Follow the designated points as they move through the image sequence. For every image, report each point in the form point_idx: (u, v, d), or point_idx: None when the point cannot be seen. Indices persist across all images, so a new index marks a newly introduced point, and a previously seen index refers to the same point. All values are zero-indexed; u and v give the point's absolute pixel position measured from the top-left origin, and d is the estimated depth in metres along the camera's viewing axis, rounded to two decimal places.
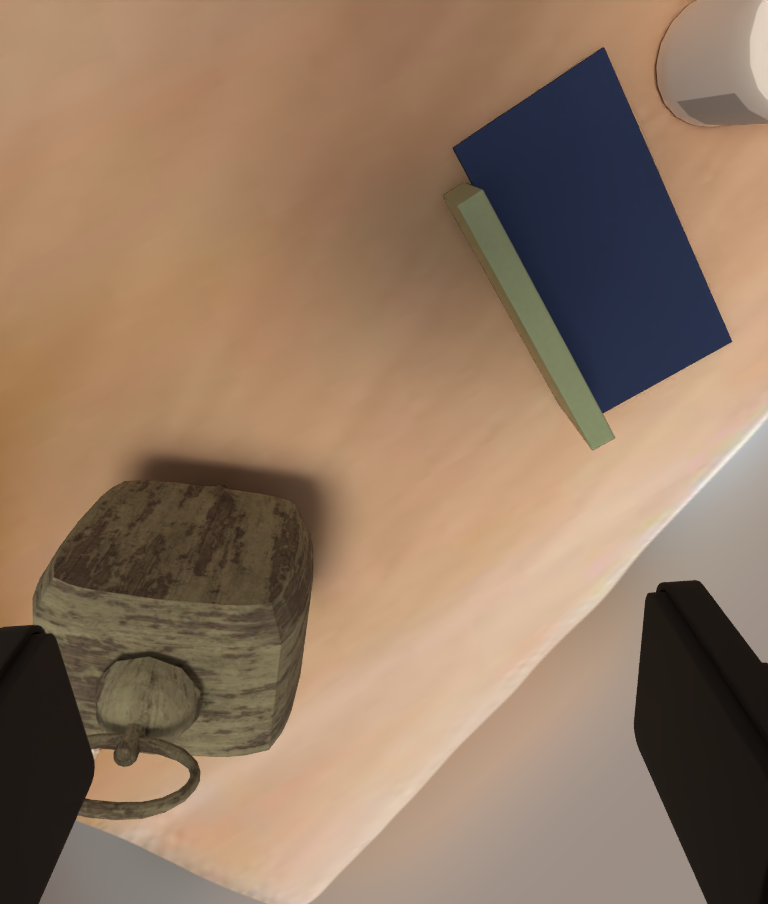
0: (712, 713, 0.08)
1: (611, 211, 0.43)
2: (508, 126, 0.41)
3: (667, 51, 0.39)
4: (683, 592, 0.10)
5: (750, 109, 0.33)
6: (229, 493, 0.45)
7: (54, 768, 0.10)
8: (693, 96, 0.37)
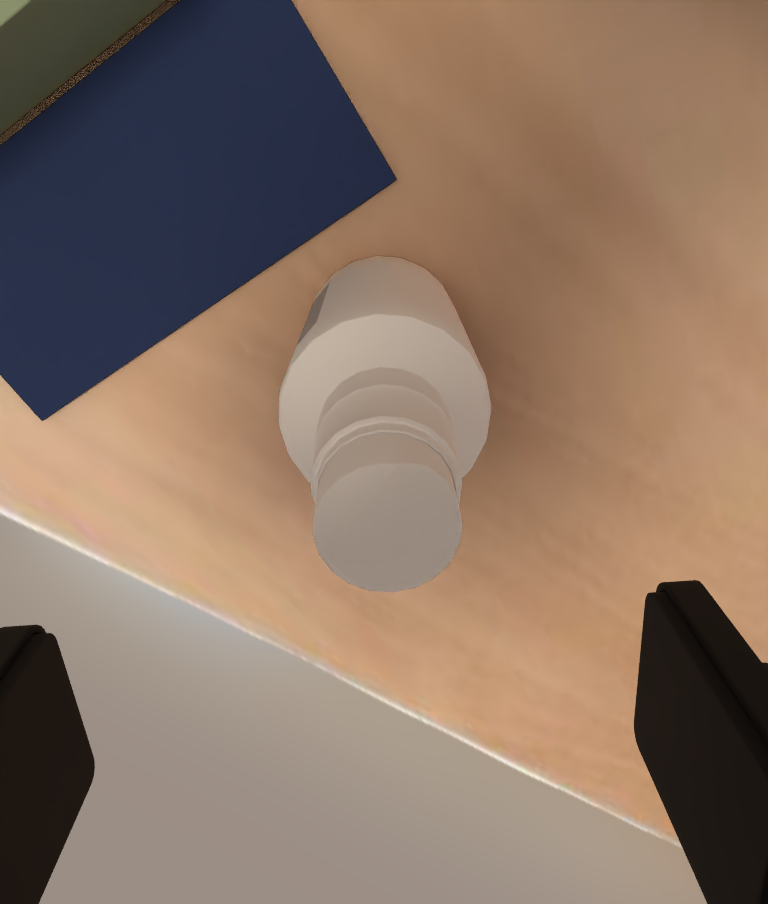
0: (712, 713, 0.08)
1: (190, 220, 0.30)
2: (291, 39, 0.27)
3: (389, 261, 0.29)
4: (683, 592, 0.10)
5: (296, 347, 0.23)
6: None
7: (54, 768, 0.10)
8: (328, 291, 0.27)
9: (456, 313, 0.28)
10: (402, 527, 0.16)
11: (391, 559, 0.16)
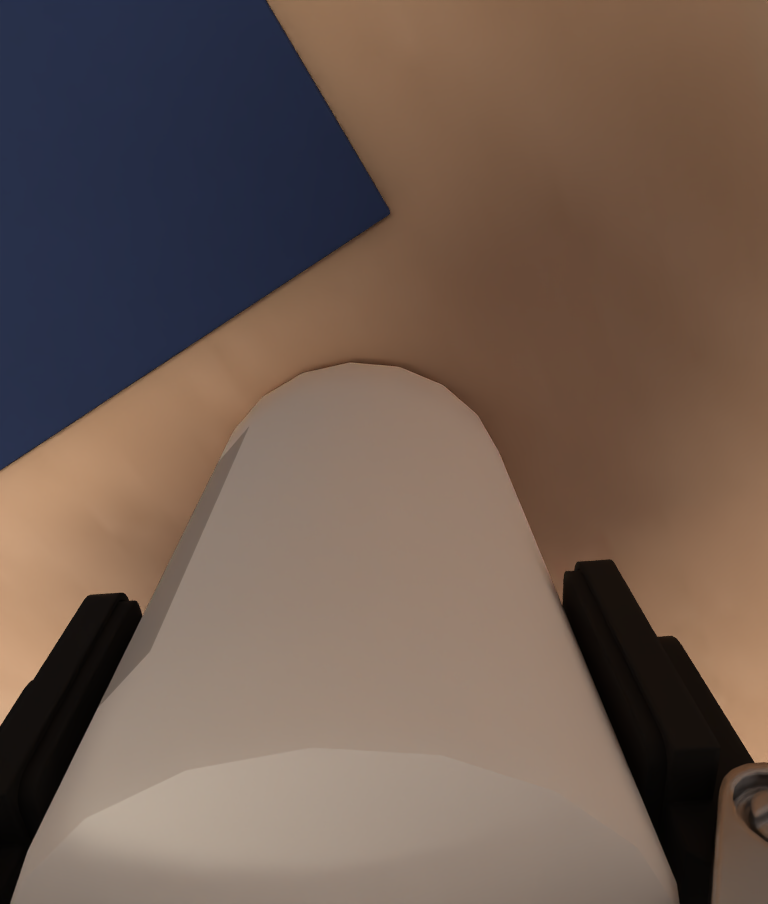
0: (607, 678, 0.09)
1: None
2: None
3: (373, 383, 0.14)
4: (595, 570, 0.11)
5: (92, 720, 0.08)
6: None
7: None
8: (233, 472, 0.12)
9: (517, 504, 0.13)
10: None
11: None
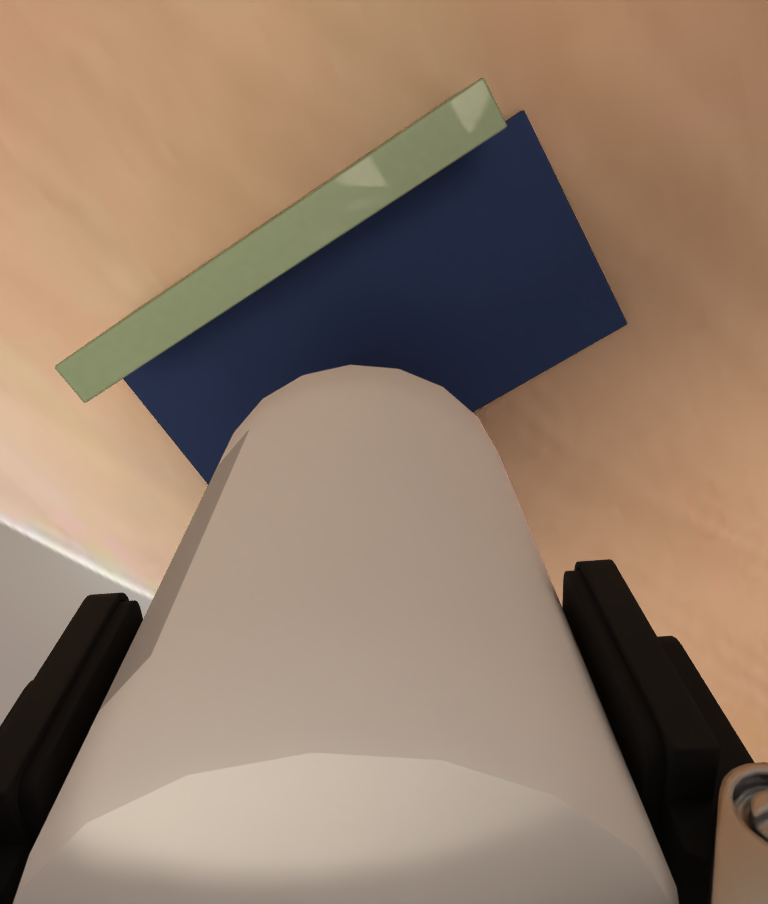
0: (607, 678, 0.09)
1: (423, 358, 0.31)
2: (545, 198, 0.28)
3: (374, 386, 0.14)
4: (595, 569, 0.11)
5: (93, 723, 0.08)
6: None
7: None
8: (234, 475, 0.12)
9: (517, 507, 0.13)
10: None
11: None
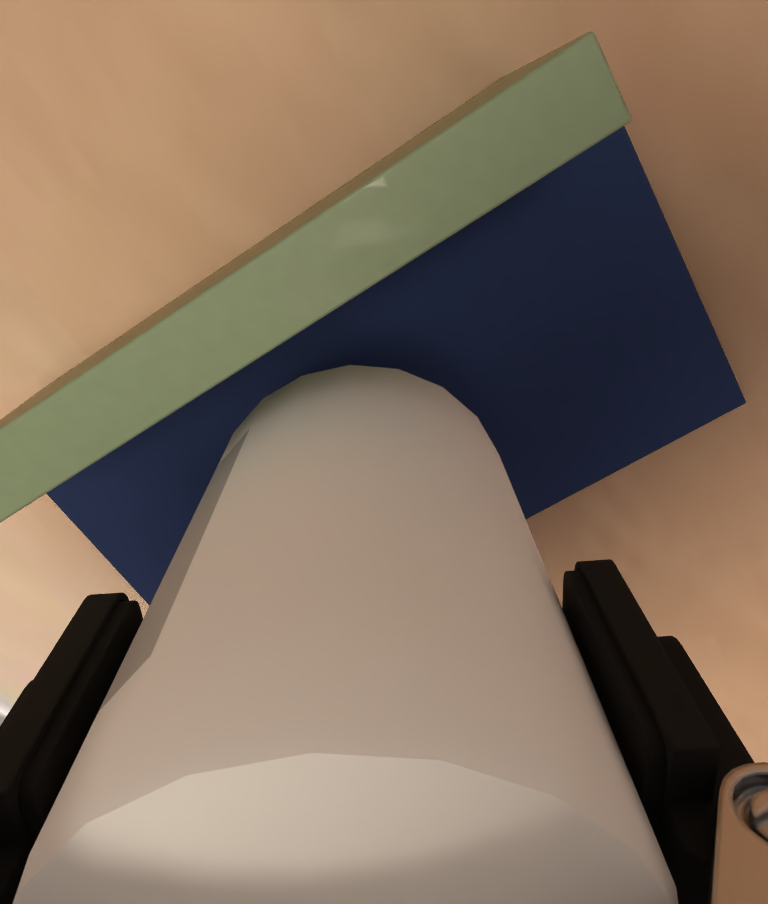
0: (607, 678, 0.09)
1: None
2: (638, 227, 0.19)
3: (374, 385, 0.14)
4: (595, 570, 0.11)
5: (93, 723, 0.08)
6: None
7: None
8: (234, 475, 0.12)
9: (517, 507, 0.13)
10: None
11: None
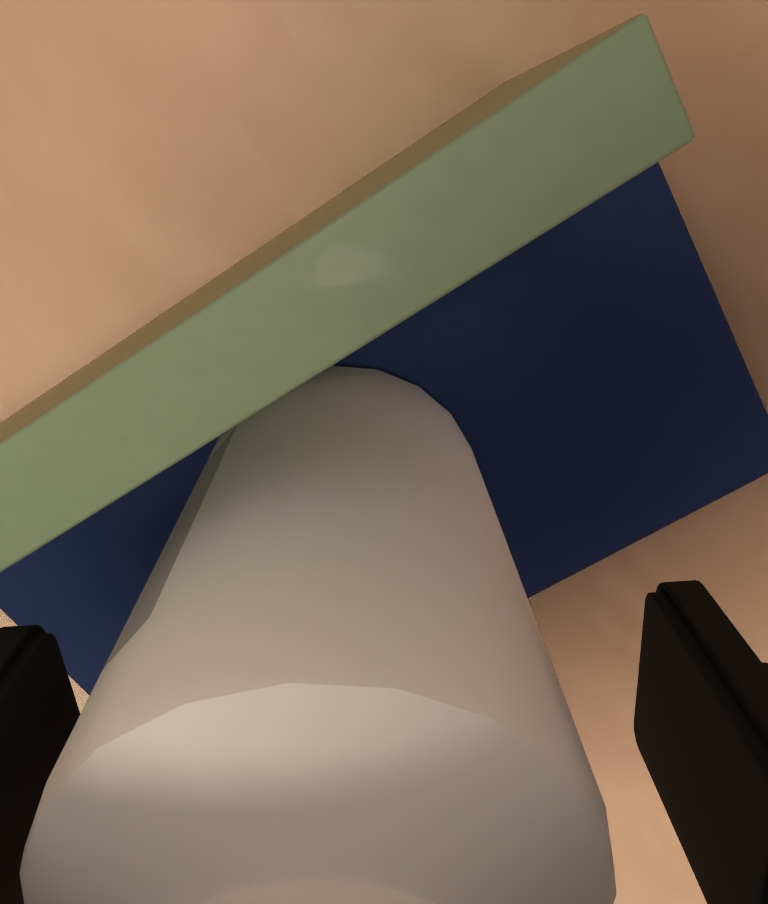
0: (712, 713, 0.08)
1: None
2: (664, 261, 0.16)
3: (353, 384, 0.15)
4: (683, 592, 0.10)
5: (98, 679, 0.09)
6: None
7: None
8: (222, 465, 0.13)
9: (485, 494, 0.14)
10: None
11: None
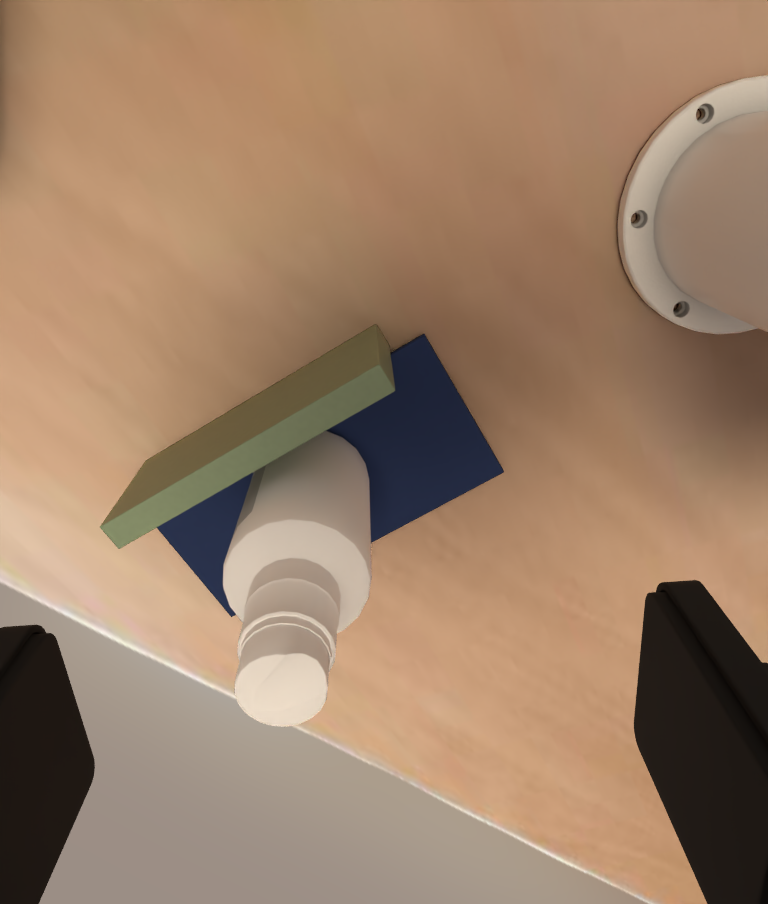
0: (712, 713, 0.08)
1: None
2: (441, 390, 0.40)
3: (314, 438, 0.39)
4: (683, 592, 0.10)
5: (237, 528, 0.33)
6: None
7: (54, 768, 0.10)
8: (266, 469, 0.37)
9: (362, 482, 0.38)
10: (290, 688, 0.26)
11: (283, 708, 0.26)
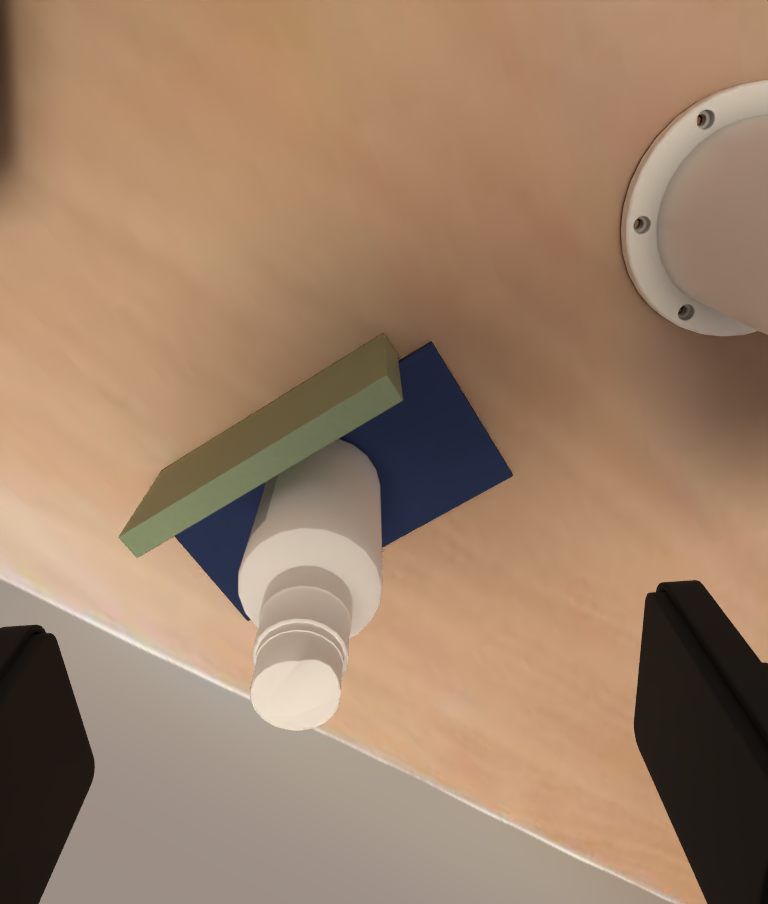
0: (712, 713, 0.08)
1: None
2: (450, 396, 0.41)
3: (325, 446, 0.40)
4: (683, 592, 0.10)
5: (251, 536, 0.34)
6: None
7: (54, 768, 0.10)
8: (278, 478, 0.38)
9: (373, 488, 0.39)
10: (304, 693, 0.27)
11: (298, 712, 0.27)
